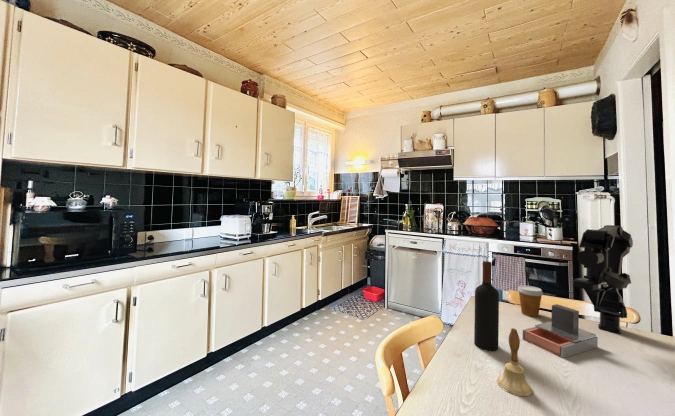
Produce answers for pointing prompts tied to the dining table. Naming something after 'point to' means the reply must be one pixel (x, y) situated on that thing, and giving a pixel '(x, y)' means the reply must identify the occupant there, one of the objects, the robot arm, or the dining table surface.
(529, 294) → the disposable coffee cup
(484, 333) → the wine bottle
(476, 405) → the dining table surface
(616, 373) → the dining table surface
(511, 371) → the hand bell
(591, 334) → the lid
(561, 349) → the grey box tray
